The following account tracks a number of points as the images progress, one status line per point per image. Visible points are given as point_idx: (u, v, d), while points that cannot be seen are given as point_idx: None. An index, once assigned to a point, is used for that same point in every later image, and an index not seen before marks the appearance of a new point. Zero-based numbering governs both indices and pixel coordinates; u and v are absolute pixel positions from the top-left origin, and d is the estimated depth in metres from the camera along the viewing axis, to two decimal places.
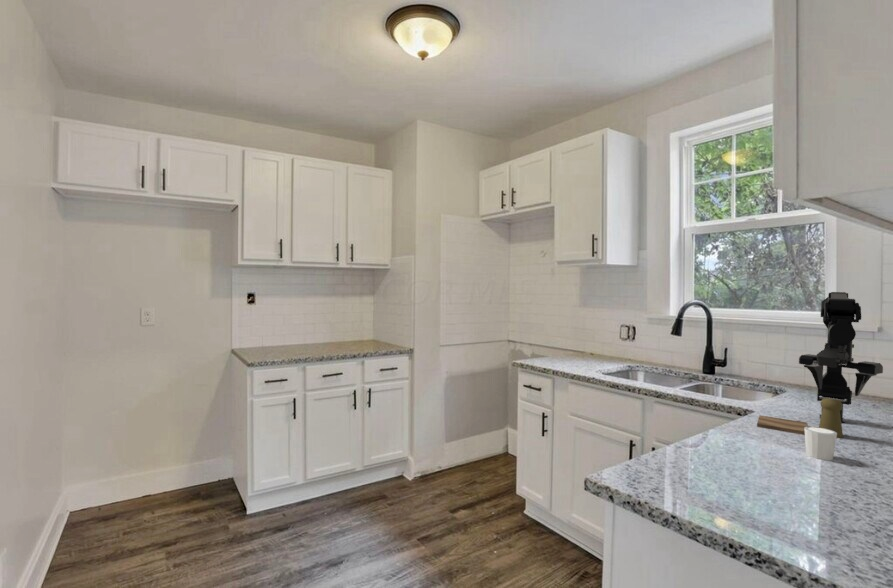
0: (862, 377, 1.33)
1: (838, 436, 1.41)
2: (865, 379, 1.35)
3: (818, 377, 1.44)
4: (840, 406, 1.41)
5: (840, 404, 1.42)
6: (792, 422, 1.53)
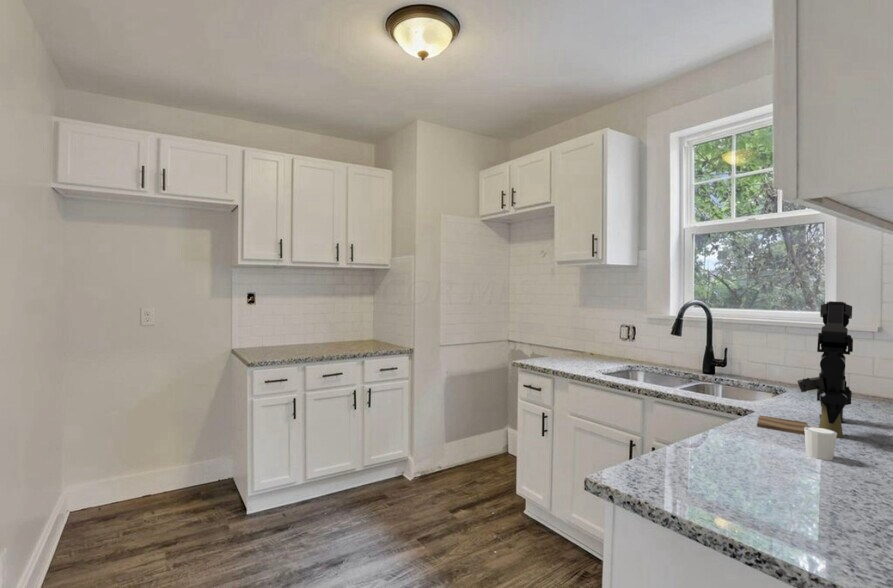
0: (823, 403, 1.42)
1: (838, 436, 1.41)
2: (837, 408, 1.40)
3: None
4: None
5: None
6: (792, 422, 1.53)
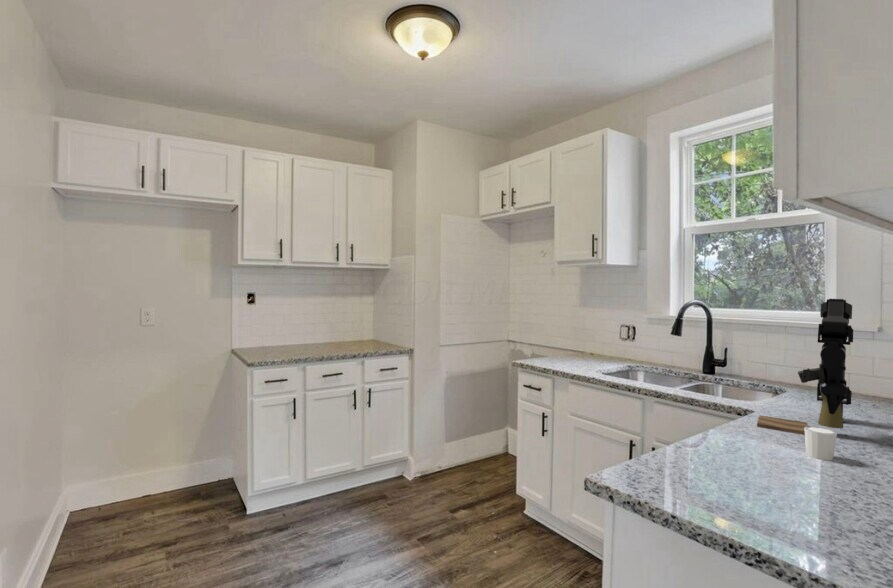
0: None
1: (838, 426, 1.41)
2: (837, 399, 1.40)
3: None
4: None
5: None
6: (792, 422, 1.53)
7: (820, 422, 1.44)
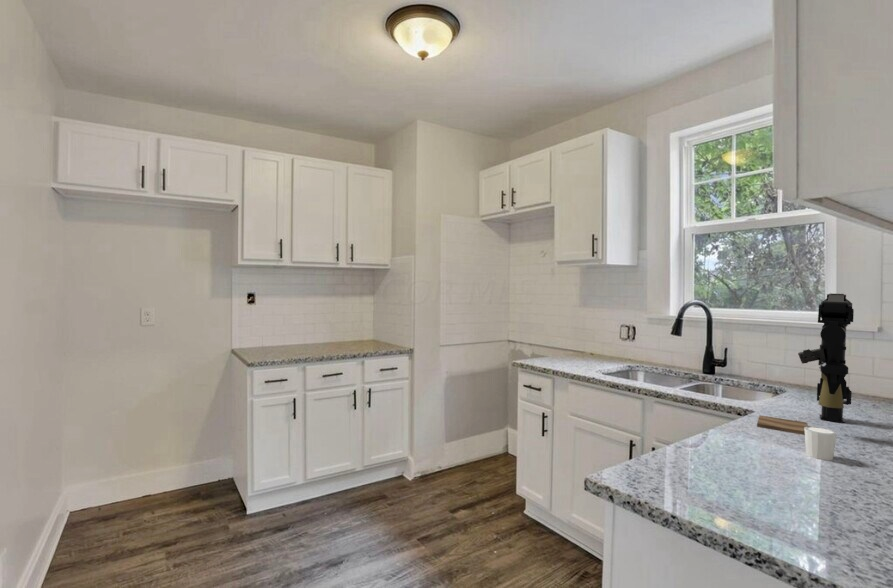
0: (824, 374, 1.42)
1: (839, 406, 1.41)
2: (837, 378, 1.40)
3: None
4: None
5: None
6: (792, 422, 1.53)
7: (820, 402, 1.44)
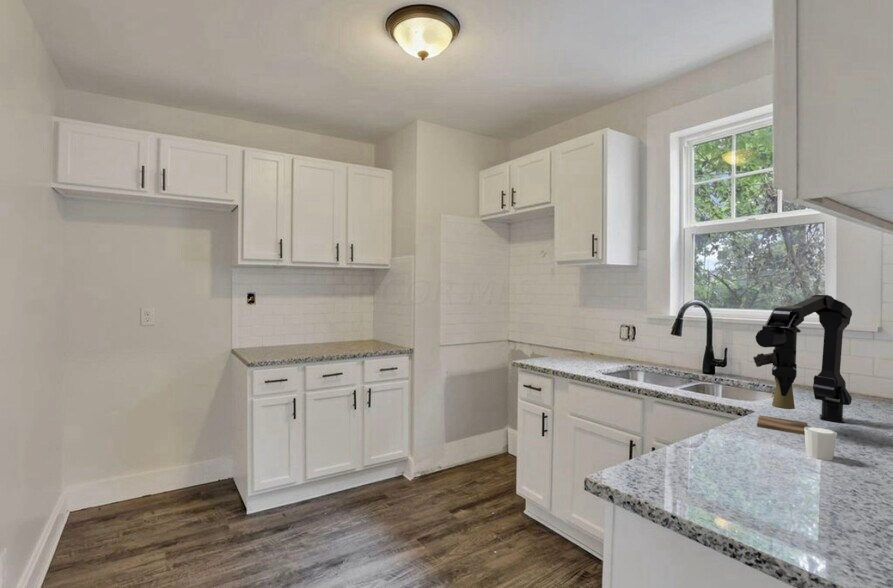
0: None
1: (790, 407, 1.49)
2: (788, 381, 1.48)
3: None
4: None
5: None
6: (792, 422, 1.53)
7: (773, 404, 1.52)
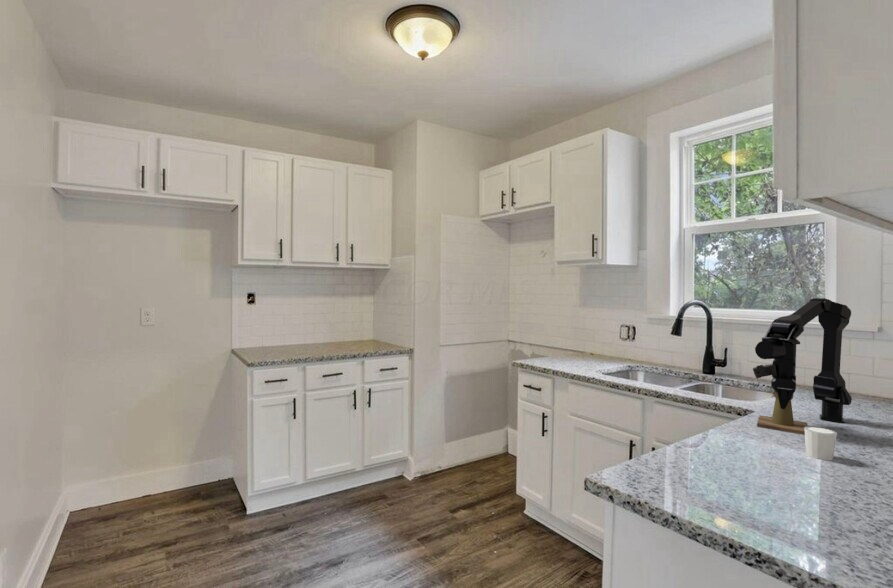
0: (775, 390, 1.48)
1: (789, 424, 1.49)
2: (787, 394, 1.46)
3: None
4: None
5: None
6: None
7: (772, 420, 1.52)
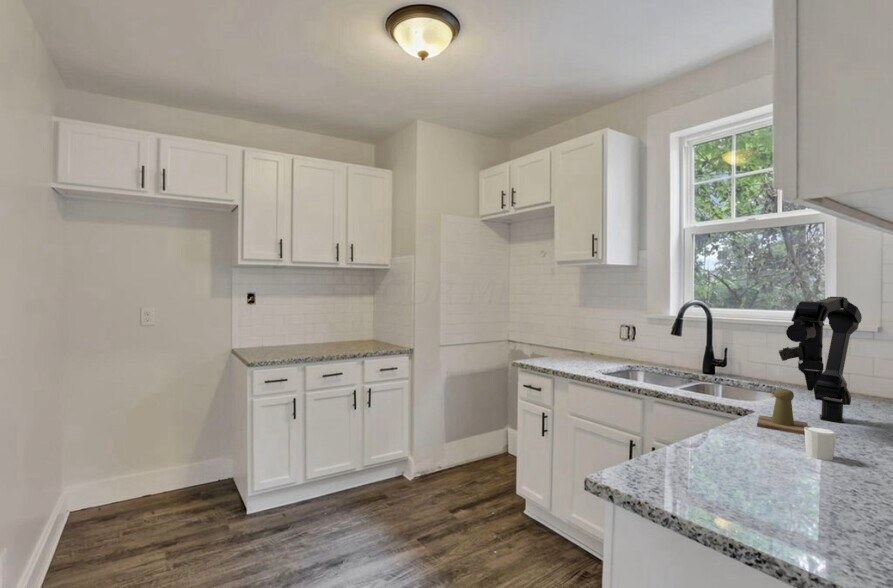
0: (802, 372, 1.48)
1: (789, 424, 1.49)
2: (814, 376, 1.47)
3: None
4: (791, 396, 1.49)
5: (791, 394, 1.49)
6: None
7: (772, 420, 1.52)
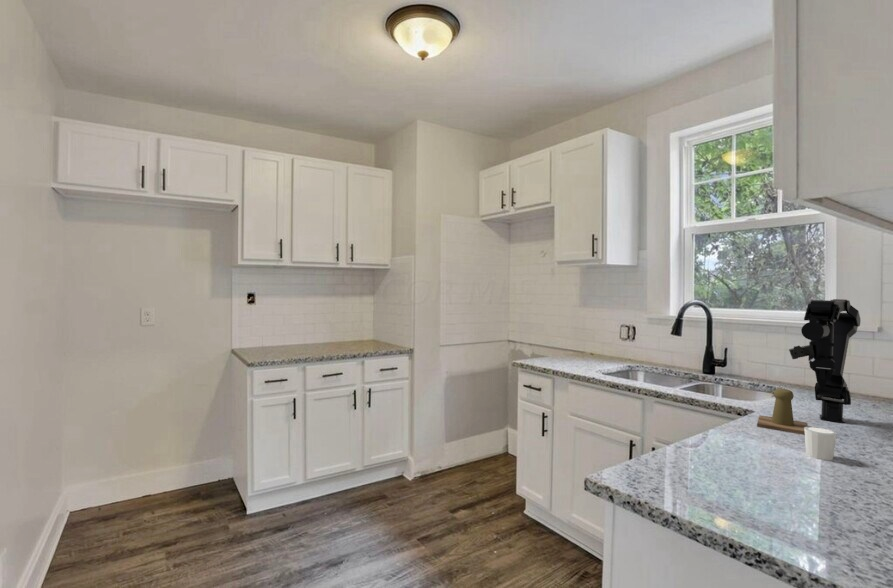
0: (813, 370, 1.48)
1: (789, 424, 1.49)
2: (826, 374, 1.47)
3: None
4: (791, 396, 1.49)
5: (791, 394, 1.49)
6: None
7: (772, 420, 1.52)
